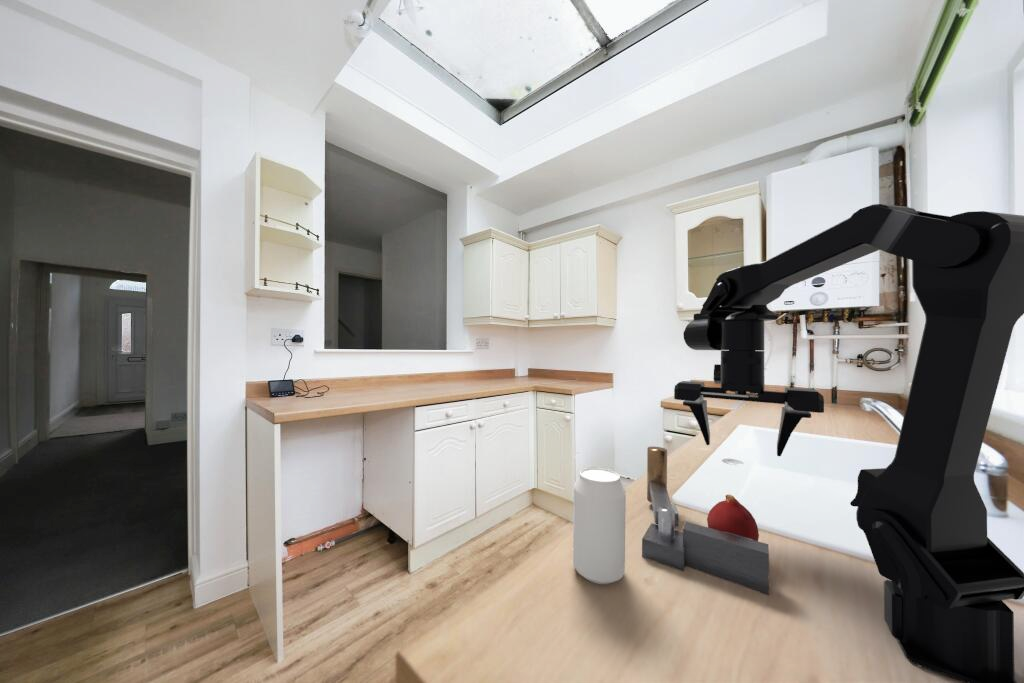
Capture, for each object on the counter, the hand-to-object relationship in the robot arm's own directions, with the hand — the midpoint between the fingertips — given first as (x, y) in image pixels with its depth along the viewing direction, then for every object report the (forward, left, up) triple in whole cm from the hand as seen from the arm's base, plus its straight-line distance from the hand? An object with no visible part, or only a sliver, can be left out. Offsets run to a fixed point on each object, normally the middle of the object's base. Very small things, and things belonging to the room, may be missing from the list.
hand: (741, 449), depth 54 cm
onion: (+1, +10, -12) cm, 16 cm away
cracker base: (+4, +15, -12) cm, 20 cm away
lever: (+11, +6, -11) cm, 16 cm away
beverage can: (+14, +24, -12) cm, 30 cm away
